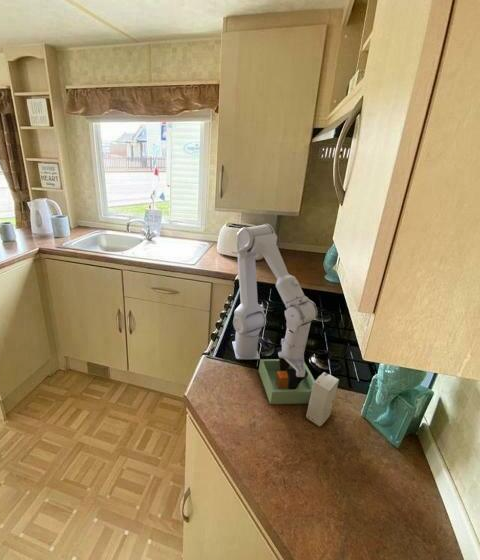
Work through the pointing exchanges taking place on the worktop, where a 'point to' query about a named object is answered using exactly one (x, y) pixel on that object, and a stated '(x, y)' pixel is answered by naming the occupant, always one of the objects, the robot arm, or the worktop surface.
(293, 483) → the worktop surface
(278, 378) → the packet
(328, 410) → the cosmetic box
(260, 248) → the robot arm
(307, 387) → the tray
